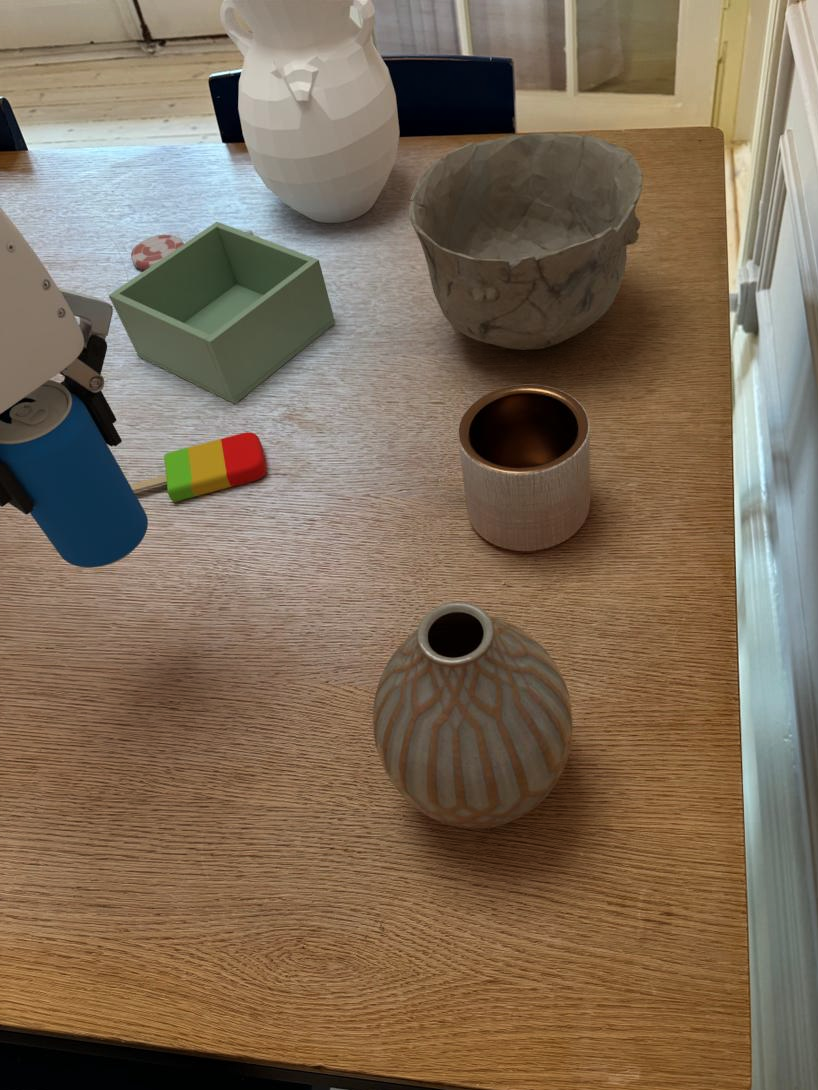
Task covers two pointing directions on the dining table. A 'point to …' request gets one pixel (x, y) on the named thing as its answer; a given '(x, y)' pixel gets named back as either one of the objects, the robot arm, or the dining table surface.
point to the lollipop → (155, 250)
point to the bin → (225, 310)
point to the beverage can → (71, 478)
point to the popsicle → (210, 467)
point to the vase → (472, 719)
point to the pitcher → (315, 103)
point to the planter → (526, 466)
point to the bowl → (527, 234)
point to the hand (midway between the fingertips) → (61, 467)
